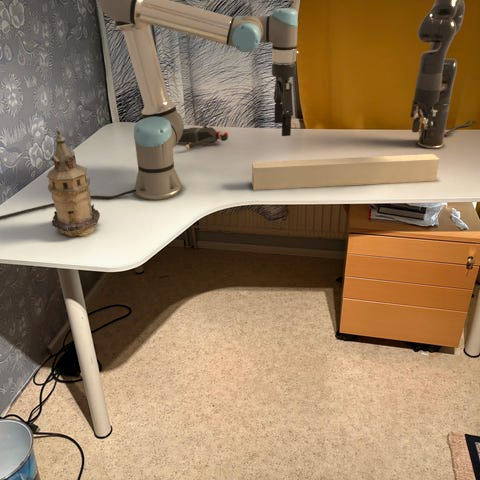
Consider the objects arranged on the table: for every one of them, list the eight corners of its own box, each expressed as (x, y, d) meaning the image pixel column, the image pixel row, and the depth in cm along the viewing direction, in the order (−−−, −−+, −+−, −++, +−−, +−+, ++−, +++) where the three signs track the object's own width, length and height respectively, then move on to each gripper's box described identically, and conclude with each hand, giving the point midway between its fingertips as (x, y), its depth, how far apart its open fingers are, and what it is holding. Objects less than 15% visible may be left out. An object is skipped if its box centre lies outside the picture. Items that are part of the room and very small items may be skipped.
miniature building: (80, 214, 164) (63, 117, 149) (111, 225, 157) (96, 125, 142) (44, 231, 154) (22, 130, 140) (75, 244, 147) (55, 139, 133)
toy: (166, 118, 231) (234, 118, 225) (168, 133, 234) (235, 133, 228) (145, 138, 209) (219, 138, 203) (147, 153, 212) (221, 154, 206)
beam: (253, 190, 178) (253, 167, 174) (252, 184, 182) (251, 162, 178) (435, 180, 183) (439, 159, 179) (429, 175, 187) (433, 153, 183)
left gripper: (304, 70, 156) (301, 140, 166) (288, 54, 178) (286, 117, 188) (279, 71, 155) (277, 142, 166) (265, 55, 177) (264, 118, 187)
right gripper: (450, 91, 163) (441, 142, 171) (429, 80, 175) (422, 128, 183) (426, 92, 162) (418, 143, 170) (407, 81, 174) (401, 130, 182)
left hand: (282, 129), depth 177 cm, fingers open, 13 cm apart
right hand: (420, 136), depth 177 cm, fingers open, 8 cm apart
